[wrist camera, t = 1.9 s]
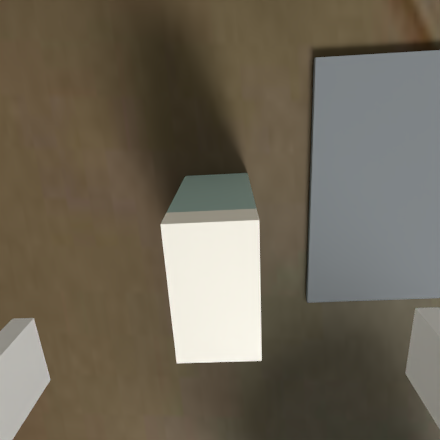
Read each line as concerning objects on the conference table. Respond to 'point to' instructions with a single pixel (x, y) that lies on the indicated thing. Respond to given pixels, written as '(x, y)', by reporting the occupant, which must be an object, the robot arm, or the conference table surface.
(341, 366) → the conference table surface
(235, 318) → the painted block
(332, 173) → the slate mat
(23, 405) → the robot arm
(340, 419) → the conference table surface
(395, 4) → the conference table surface
